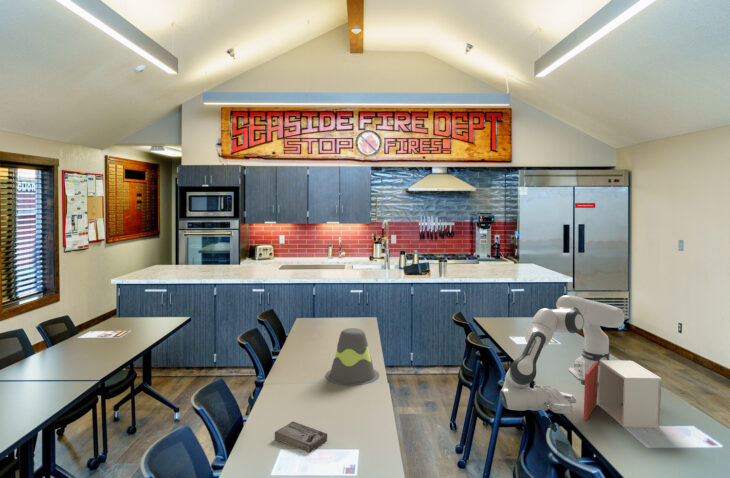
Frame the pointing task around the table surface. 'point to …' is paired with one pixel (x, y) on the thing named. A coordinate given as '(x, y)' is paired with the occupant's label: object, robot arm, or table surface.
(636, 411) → the cabinet
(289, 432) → the box
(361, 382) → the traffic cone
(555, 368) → the table surface
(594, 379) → the door
